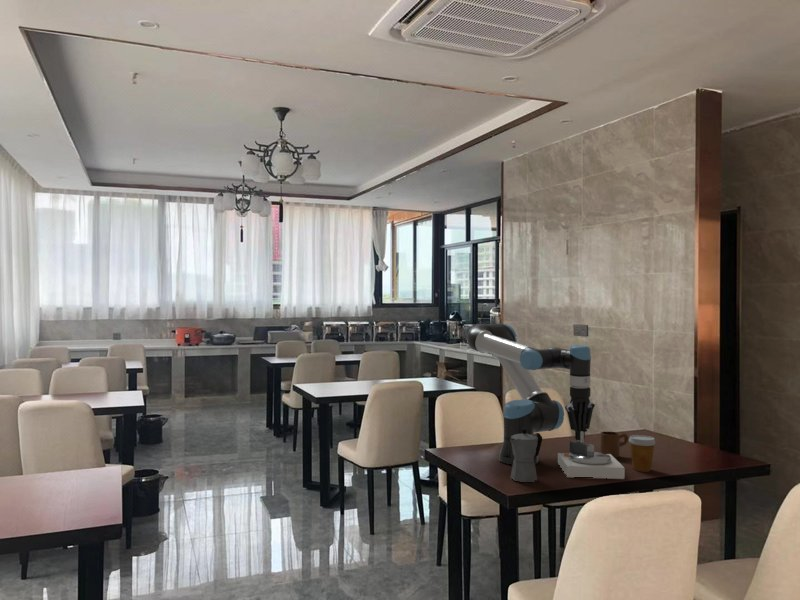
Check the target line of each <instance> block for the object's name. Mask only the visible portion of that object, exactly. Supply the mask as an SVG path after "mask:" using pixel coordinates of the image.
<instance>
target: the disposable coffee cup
mask: <svg viewBox="0 0 800 600" xmlns="http://www.w3.org/2000/svg"><path fill="white" fill-rule="evenodd" d="M628 442H629V445H630V446H629V447H630V455H631V456H630V457H631V465H632V469H633V470H634V471H638V472H643V473H647V472H650V471H651V470H652V465H653V464H652V462H653V456H654V448H655V445H656V443H657V441H656V440H655V437H653V436H649V435H643V434H642V435H641V434H640V435H639V434H633V435H630V436H629V438H628Z"/></svg>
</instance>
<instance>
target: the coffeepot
mask: <svg viewBox="0 0 800 600" xmlns="http://www.w3.org/2000/svg"><path fill="white" fill-rule="evenodd" d="M526 431H527V429H525V428H524V429H522V432H523V433H522V434H515V435H513V436H511V439H510V441H511V443H512V450H513V455H514V461H513V465H511V472H510V473H511V474H510V477H509V479H511V478H512V479H513V480H515V481H520V482H533V483H535V482H536V481H537V480H538V475H537V470H536V464H535V462H534V457H536V456H538V457H539V454H540V450H541V446H542V442H543V437H542V435H541V433H540V432H535V433H534V434H531V435H530V434H526ZM535 452H536V453H535ZM512 479H511V480H512ZM513 480H512V481H513ZM535 480H536V481H535ZM515 481H514V482H515ZM534 481H535V482H534Z"/></svg>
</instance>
